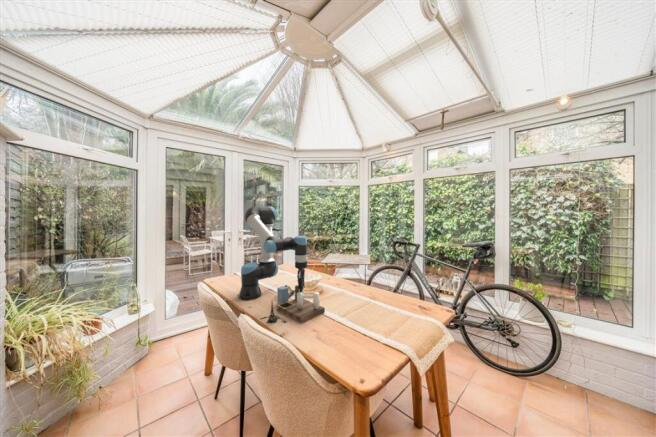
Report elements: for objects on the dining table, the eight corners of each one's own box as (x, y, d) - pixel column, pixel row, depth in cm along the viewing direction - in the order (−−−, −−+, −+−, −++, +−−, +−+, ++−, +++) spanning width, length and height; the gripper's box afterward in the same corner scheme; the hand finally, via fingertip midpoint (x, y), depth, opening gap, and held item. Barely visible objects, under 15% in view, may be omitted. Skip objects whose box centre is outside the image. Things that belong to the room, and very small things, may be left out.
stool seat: (277, 310, 149) (276, 291, 148) (299, 301, 161) (299, 284, 161) (301, 323, 132) (301, 302, 131) (324, 312, 145) (324, 293, 144)
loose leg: (277, 304, 158) (277, 287, 157) (284, 301, 161) (283, 285, 161) (282, 306, 154) (281, 289, 154) (288, 304, 158) (288, 287, 157)
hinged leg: (319, 306, 146) (319, 292, 145) (319, 309, 142) (318, 294, 141) (297, 306, 146) (297, 292, 146) (296, 308, 143) (296, 294, 142)
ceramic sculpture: (275, 287, 164) (282, 281, 179) (275, 300, 164) (282, 293, 179) (290, 288, 163) (296, 282, 178) (290, 300, 163) (296, 294, 178)
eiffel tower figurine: (288, 323, 133) (287, 299, 133) (272, 329, 126) (271, 305, 126) (274, 314, 144) (273, 292, 143) (258, 320, 137) (258, 297, 136)
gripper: (305, 263, 140) (305, 302, 142) (308, 258, 153) (308, 294, 154) (292, 263, 141) (293, 302, 142) (297, 258, 153) (297, 294, 155)
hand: (301, 298), depth 148 cm, fingers closed
